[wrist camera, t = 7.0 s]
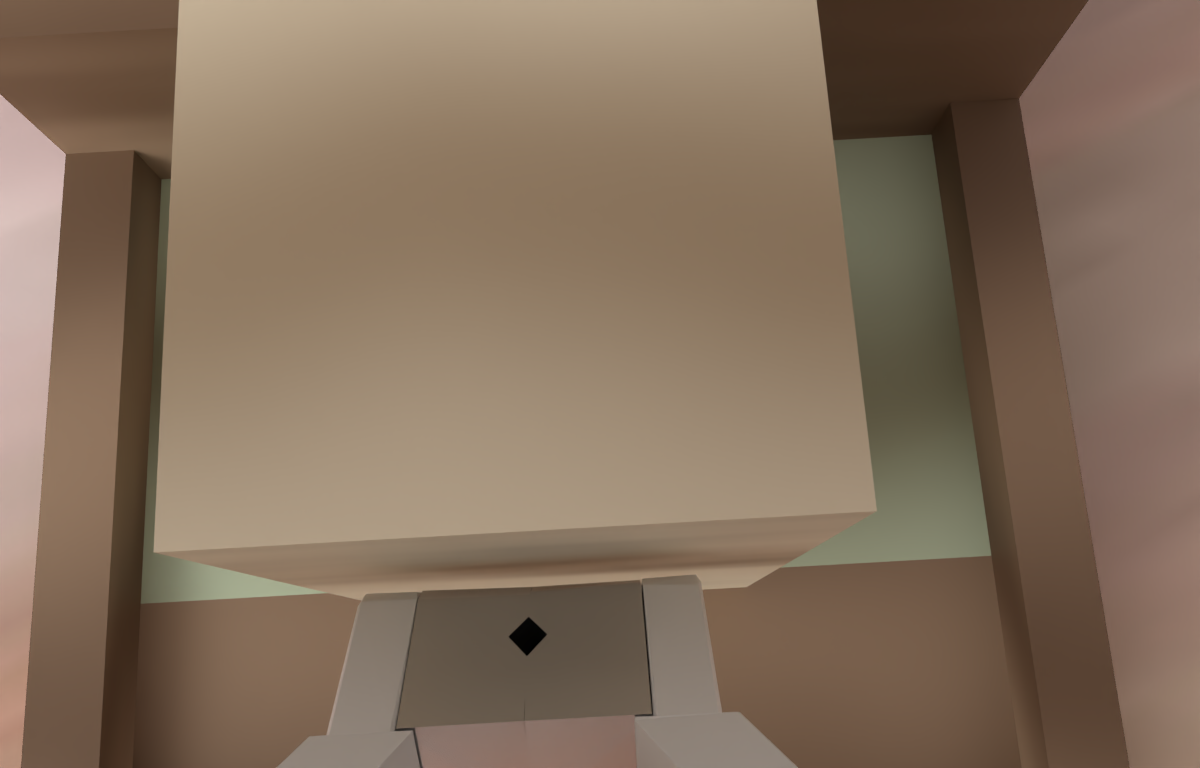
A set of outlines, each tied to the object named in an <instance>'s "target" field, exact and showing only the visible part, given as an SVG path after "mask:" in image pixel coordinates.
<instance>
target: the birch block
mask: <svg viewBox="0 0 1200 768" xmlns="http://www.w3.org/2000/svg"><path fill="white" fill-rule="evenodd" d="M876 511H877V507H876V499H875V490H874V482H873V473H872V465H871V456H870V448H869V439H868V431H867V422H866V414H865V406H864V397H863V389H862V380H861V372H860V363H859V355H858V346H857V338H856V329H855V321H854V312H853V304H852V296H851V287H850V279H849V270H848V262H847V253H846V245H845V236H844V228H843V219H842V211H841V203H840V194H839V186H838V177H837V169H836V160H835V152H834V143H833V135H832V126H831V118H830V110H829V101H828V93H827V84H826V76H825V67H824V59H823V50H822V42H821V33H820V25H819V16H818V8H817V0H179V14H178V36H177V57H176V79H175V100H174V122H173V144H172V165H171V187H170V208H169V230H168V252H167V273H166V295H165V316H164V338H163V360H162V381H161V403H160V424H159V446H158V468H157V489H156V511H155V532H154V553H158V554H162V555H166V556H171V557H175V558H179V559H184V560H188V561H192V562H197V563H201V564H205V565H210V566H214V567H218V568H223V569H227V570H231V571H235V572H240V573H244V574H248V575H253V576H257V577H261V578H266V579H270V580H274V581H279V582H283V583H287V584H292V585H296V586H300V587H305V588H309V589H313V590H318V591H322V592H326V593H330V594H335V595H339V596H343V597H348V598H352V599H356V600H361V601H362V599H363V598H364V596H365V595H366V594H371V593H400V592H422V591H427V590H456V589H484V588H513V587H537V586H553V585H568V584H584V583H599V582H615V581H630V580H640V582H641V583H642V579H644V578H657V577H669V576H682V575H695V574H696V575H697V577H698V578H699V579H700V581H701V585H702V590H705V589H723V588H741V587H748V586H749V585H751V584H753V583H754V582H756V581H758V580H760V579H761V578H763V577H765V576H767V575H768V574H770V573H772V572H773V571H775V570H777V569H779V568H780V567H782V566H784V565H785V564H787V563H789V562H791V561H792V560H794V559H796V558H797V557H799V556H801V555H803V554H804V553H806V552H808V551H809V550H811V549H813V548H815V547H816V546H818V545H820V544H821V543H823V542H825V541H827V540H828V539H830V538H832V537H833V536H835V535H837V534H839V533H840V532H842V531H844V530H845V529H847V528H849V527H851V526H852V525H854V524H856V523H857V522H859V521H861V520H863V519H864V518H866V517H868V516H869V515H871V514H873V513H875V512H876Z"/></svg>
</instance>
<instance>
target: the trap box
mask: <svg viewBox="0 0 1200 768" xmlns="http://www.w3.org/2000/svg"><path fill="white" fill-rule="evenodd" d="M1087 2H1088V0H817V8H818V16H819V25H820V33H821V42H822V50H823V59H824V67H825V76H826V84H827V93H828V101H829V110H830V118H831V126H832V135H833V143H834V152H835V160H836V169H837V177H838V186H839V194H840V203H841V211H842V219H843V228H844V236H845V245H846V253H847V262H848V270H849V279H850V287H851V296H852V304H853V312H854V321H855V329H856V338H857V346H858V355H859V363H860V372H861V380H862V389H863V397H864V406H865V414H866V422H867V431H868V439H869V448H870V456H871V465H872V473H873V482H874V490H875V499H876V507H877V511H876V512H875V513H873V514H871V515H869V516H868V517H866V518H864V519H863V520H861V521H859V522H857V523H856V524H854V525H852V526H851V527H849V528H847V529H845V530H844V531H842V532H840V533H839V534H837V535H835V536H833V537H832V538H830V539H828V540H827V541H825V542H823V543H821V544H820V545H818V546H816V547H815V548H813V549H811V550H809V551H808V552H806V553H804V554H803V555H801V556H799V557H797V558H796V559H794V560H792V561H791V562H789V563H787V564H785V565H784V566H782V567H780V568H779V569H777V570H775V571H773V572H772V573H770V574H768V575H767V576H765V577H763V578H761V579H760V580H758V581H756V582H754V583H753V584H751V585H749V586H748V587H741V588H723V589H705V590H702V591H703V597H704V603H705V609H706V616H707V622H708V628H709V634H710V640H711V647H712V653H713V659H714V665H715V671H716V678H717V684H718V690H719V696H720V702H721V708H722V713H723V712H740V713H741V714H742V715H743V716H744V717H745V718H746V719H748V720H749V721H750V722H751V723H752V724H753V725H754V726H755V727H756V728H757V729H758V730H759V731H760V732H761V733H762V734H763V735H764V736H765V737H766V738H768V739H769V740H770V741H771V742H772V743H773V744H774V745H775V746H776V747H777V748H778V749H779V750H780V751H781V752H782V753H783V754H784V755H785V756H786V757H788V758H789V759H790V760H791V761H792V762H793V763H794V764H795V765H796V766H797V767H798V768H1129V762H1128V756H1127V750H1126V744H1125V738H1124V732H1123V726H1122V720H1121V714H1120V708H1119V702H1118V696H1117V690H1116V684H1115V678H1114V671H1113V665H1112V659H1111V653H1110V647H1109V641H1108V635H1107V629H1106V623H1105V617H1104V611H1103V605H1102V599H1101V593H1100V587H1099V581H1098V575H1097V569H1096V563H1095V557H1094V551H1093V545H1092V539H1091V532H1090V526H1089V520H1088V514H1087V508H1086V502H1085V496H1084V490H1083V484H1082V478H1081V472H1080V466H1079V460H1078V454H1077V448H1076V442H1075V436H1074V430H1073V424H1072V418H1071V412H1070V406H1069V400H1068V393H1067V387H1066V381H1065V375H1064V369H1063V363H1062V357H1061V351H1060V345H1059V339H1058V333H1057V327H1056V321H1055V315H1054V309H1053V303H1052V297H1051V291H1050V285H1049V279H1048V273H1047V267H1046V261H1045V254H1044V248H1043V242H1042V236H1041V230H1040V224H1039V218H1038V212H1037V206H1036V200H1035V194H1034V188H1033V182H1032V176H1031V170H1030V164H1029V158H1028V152H1027V146H1026V140H1025V134H1024V128H1023V122H1022V115H1021V109H1020V103H1019V98H1020V96H1021V95H1022V93H1023V92H1024V90H1025V89H1026V88H1027V86H1028V85H1029V83H1030V82H1031V81H1032V79H1033V78H1034V76H1035V75H1036V74H1037V72H1038V71H1039V69H1040V68H1041V66H1042V65H1043V64H1044V62H1045V61H1046V59H1047V58H1048V57H1049V55H1050V54H1051V52H1052V51H1053V50H1054V48H1055V47H1056V45H1057V44H1058V42H1059V41H1060V40H1061V38H1062V37H1063V35H1064V34H1065V33H1066V31H1067V30H1068V28H1069V27H1070V26H1071V24H1072V23H1073V21H1074V20H1075V18H1076V17H1077V16H1078V14H1079V13H1080V11H1081V10H1082V9H1083V7H1084V6H1085V4H1086V3H1087ZM178 14H179V0H0V94H1V95H2V96H3V97H4V98H5V99H6V100H7V101H8V102H10V103H11V104H12V105H13V106H14V107H15V108H16V109H17V110H18V111H19V112H20V113H22V114H23V115H24V116H25V117H26V118H27V119H28V120H29V121H30V122H31V123H33V124H34V125H35V126H36V127H37V128H38V129H39V130H40V131H41V132H42V133H43V134H45V135H46V136H47V137H48V138H49V139H50V140H51V141H52V142H53V143H54V144H55V145H57V146H58V147H59V148H60V149H61V150H62V151H63V152H64V153H65V154H66V160H65V174H64V187H63V201H62V215H61V228H60V242H59V256H58V269H57V283H56V297H55V310H54V324H53V338H52V351H51V365H50V378H49V392H48V406H47V419H46V433H45V447H44V460H43V474H42V488H41V501H40V515H39V529H38V542H37V556H36V570H35V583H34V597H33V611H32V624H31V638H30V651H29V665H28V679H27V692H26V706H25V720H24V733H23V747H22V761H21V768H276V767H278V766H279V765H280V764H281V763H282V762H283V761H284V760H285V759H286V758H287V757H288V756H289V755H290V754H291V753H292V752H293V751H294V750H295V749H296V748H297V747H298V746H300V745H301V744H302V743H303V742H304V741H305V740H306V739H307V738H308V737H309V736H322V735H326V734H327V730H328V726H329V722H330V718H331V714H332V710H333V706H334V701H335V697H336V693H337V689H338V685H339V681H340V677H341V673H342V669H343V665H344V661H345V656H346V652H347V648H348V644H349V640H350V636H351V632H352V628H353V624H354V620H355V616H356V611H357V607H358V605H359V604H360V602H361V600H356V599H352V598H348V597H343V596H339V595H335V594H330V593H326V592H322V591H318V590H313V589H309V588H305V587H300V586H296V585H292V584H287V583H283V582H279V581H274V580H270V579H266V578H261V577H257V576H253V575H248V574H244V573H240V572H235V571H231V570H227V569H223V568H218V567H214V566H210V565H205V564H201V563H197V562H192V561H188V560H184V559H179V558H175V557H171V556H166V555H162V554H158V553H154V532H155V511H156V489H157V468H158V446H159V424H160V403H161V381H162V360H163V338H164V316H165V295H166V273H167V252H168V230H169V208H170V187H171V165H172V144H173V122H174V100H175V79H176V57H177V36H178Z"/></svg>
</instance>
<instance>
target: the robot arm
mask: <svg viewBox="0 0 1200 768" xmlns="http://www.w3.org/2000/svg"><path fill="white" fill-rule="evenodd" d="M276 768H798V767H797V766H796V765H795V764H794V763H793V762H792V761H791V760H790V759H789V758H788V757H786V756H785V755H784V754H783V753H782V752H781V751H780V750H779V749H778V748H777V747H776V746H775V745H774V744H773V743H772V742H771V741H770V740H769V739H768V738H766V737H765V736H764V735H763V734H762V733H761V732H760V731H759V730H758V729H757V728H756V727H755V726H754V725H753V724H752V723H751V722H750V721H749V720H748V719H746V718H745V717H744V716H743V715H742V714H741V713H740V712H723V713H722V708H721V702H720V696H719V690H718V684H717V678H716V671H715V665H714V659H713V653H712V647H711V640H710V634H709V628H708V622H707V616H706V609H705V603H704V597H703V591H702V585H701V581H700V579H699V578H698V577H697V575H696V574H695V575H682V576H669V577H657V578H644V579H642V583H641V582H640V580H630V581H615V582H599V583H584V584H568V585H553V586H537V587H513V588H484V589H456V590H427V591H422V592H400V593H371V594H366V595H365V596H364V598H363V599H362V601H361V602H360V604H359V605H358V607H357V611H356V616H355V620H354V624H353V628H352V632H351V636H350V640H349V644H348V648H347V652H346V656H345V661H344V665H343V669H342V673H341V677H340V681H339V685H338V689H337V693H336V697H335V701H334V706H333V710H332V714H331V718H330V722H329V726H328V730H327V734H326V735H322V736H309V737H308V738H307V739H306V740H305V741H304V742H303V743H302V744H301V745H300V746H298V747H297V748H296V749H295V750H294V751H293V752H292V753H291V754H290V755H289V756H288V757H287V758H286V759H285V760H284V761H283V762H282V763H281V764H280V765H279V766H278V767H276Z"/></svg>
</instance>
